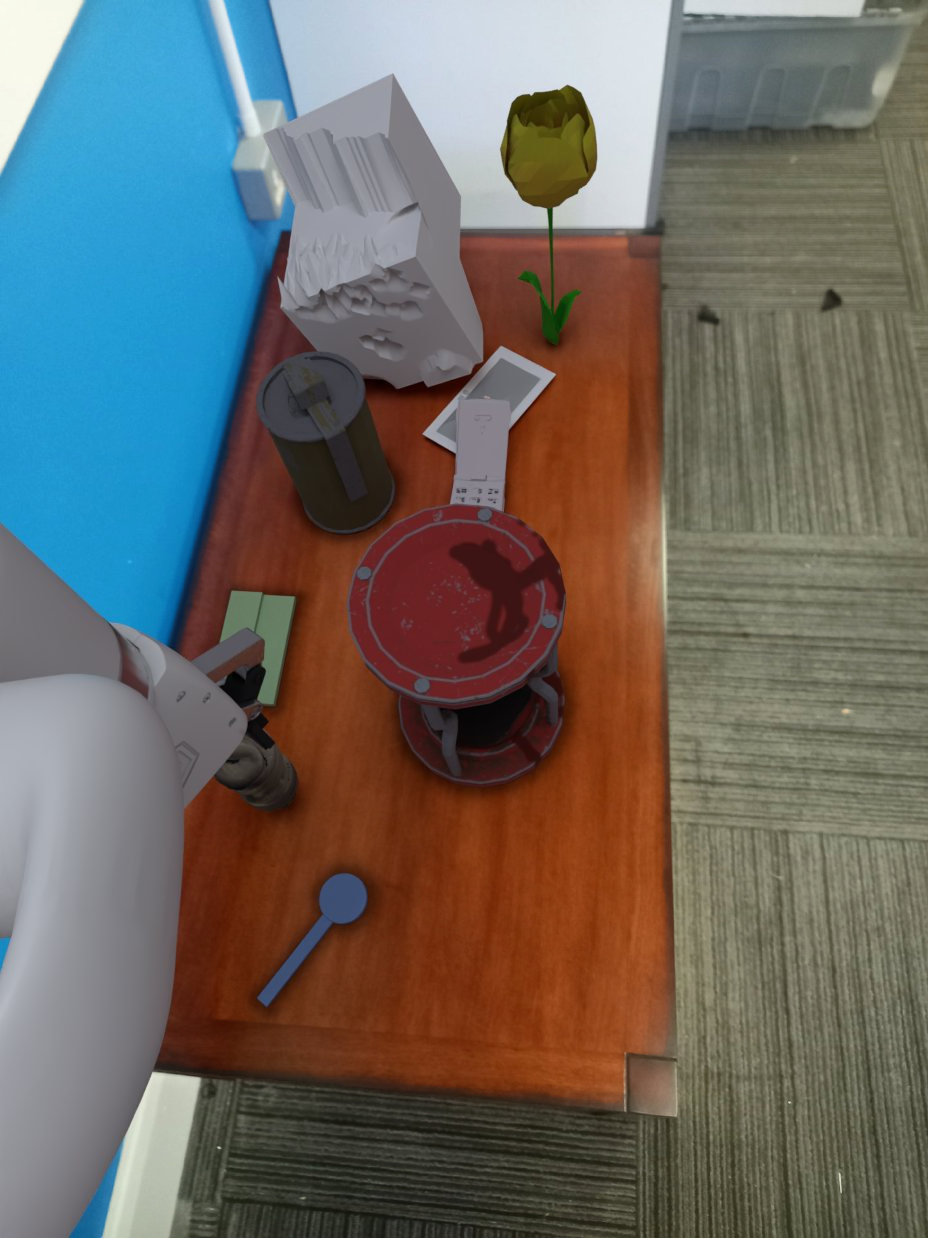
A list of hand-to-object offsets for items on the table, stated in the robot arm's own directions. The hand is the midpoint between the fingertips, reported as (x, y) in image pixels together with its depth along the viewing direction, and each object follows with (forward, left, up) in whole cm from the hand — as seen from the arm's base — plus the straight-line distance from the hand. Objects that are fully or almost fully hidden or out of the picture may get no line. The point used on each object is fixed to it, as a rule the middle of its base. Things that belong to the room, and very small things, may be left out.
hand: (200, 796), depth 54 cm
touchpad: (+51, +19, -32) cm, 63 cm away
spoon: (-4, -3, -32) cm, 32 cm away
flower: (+63, +19, -32) cm, 73 cm away
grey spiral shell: (+3, +8, -32) cm, 33 cm away
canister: (+32, +25, -32) cm, 52 cm away
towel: (+13, +21, -32) cm, 40 cm away
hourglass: (+22, -2, -32) cm, 38 cm away
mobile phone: (+37, +11, -32) cm, 50 cm away
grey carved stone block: (+53, +35, -32) cm, 71 cm away
